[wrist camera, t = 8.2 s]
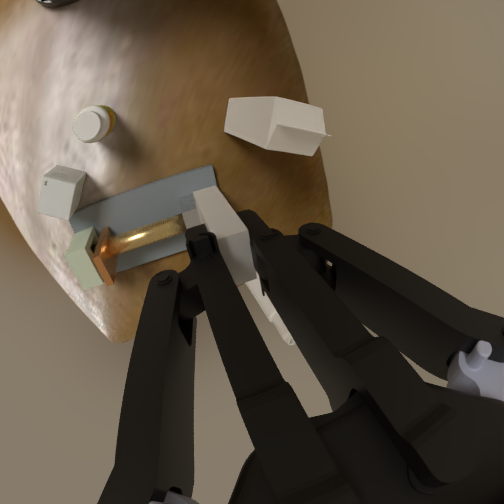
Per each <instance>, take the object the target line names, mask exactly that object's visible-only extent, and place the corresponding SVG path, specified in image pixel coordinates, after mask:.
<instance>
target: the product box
mask: <svg viewBox="0 0 504 504" xmlns="http://www.w3.org/2000/svg"><path fill="white" fill-rule="evenodd" d="M85 175H86V172H84V171H80V170H76V169H72V168H68V167H63V166H59V165H57V166H55V167H54V168H53V169H51V170H50V171H49V172H48V173H46V174H45V175H44V176H43V177H42V183H41V189H40V196H39V204H38V213H41V214H45V215H48V216H52V217H56V218H60V219H64V220H68V221H69V220H70V218H71V217H72V215H73V214H74V212H75V210H76V209H77V207H78V206H79V203H80V198H81V193H82V189H83V184H84V180H85Z"/></svg>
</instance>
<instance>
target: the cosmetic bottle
mask: <svg viewBox="0 0 504 504" xmlns="http://www.w3.org/2000/svg"><path fill="white" fill-rule="evenodd" d="M256 275H257V279H254V280H251V281H248V282H245V284H246V285H247V286H248V288H249V289H250V291H251V293H252V294H253V296H254V297H255V299H256V300H257V302H258V304H259V305H260V307H261V309H262V310H263V312H264V313H265V315H266V316H267V318H268V319H269V321H270V322H271V323H274V325H275V326H276V328H277V330H278V332H279V333H280V335H281V337H282V339H283V340H284V341H286V342H287V343H288V345H294V344H296V343H295V341H294V339H293V338H292V336H291V334H290V333H289V331H288V329H287V328H286V326H285V324H284V323H283V321H282V319H281V318H280V316H279V314H278V313H277V311H276V309H275V308H274V306H273V304H272V303H271V301H270V299H269V298H268V296H267V294H266V293H265V296H263V295H262V290H261V284H260V279H259V275H258V273H257V272H256Z"/></svg>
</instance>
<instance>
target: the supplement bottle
mask: <svg viewBox="0 0 504 504" xmlns="http://www.w3.org/2000/svg"><path fill="white" fill-rule="evenodd" d="M115 124H116V116H115V113H114V111H113V110H112V109H111V108H110V107H107V106H102V105H97V106H89V107H86V108H84V109H83V110H82V111H81V112H80V113H79V114H78V115H77V117H76V119H75V121H74V124H73V132H74V134H75V136H76V137H77V138H78V139H79V140H81V141H83V142H85V143H93V142H97V141H99V140H100V139H102V138H103V137H105V136H107V135H108V134H110V133H111V131H112V130H113V129H114V127H115Z"/></svg>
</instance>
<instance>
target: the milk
mask: <svg viewBox="0 0 504 504" xmlns="http://www.w3.org/2000/svg"><path fill="white" fill-rule="evenodd" d="M224 132H226V133H229V134H231V135H234V136H236V137H238V138H241V139H243V140H246V141H248V142H250V143H253V144H255V145H257V146H259V147H262V148H264V149H267V150H274V151H281V152H288V153H294V154H301V155H307V156H313V155H314V153H315V152H316V150H317V148H318V147H319V145H320V143H321V142H322V140H323V139H324V137H325V135H327V136H331V135H328V134H326V131H325V124H324V116H323V110H322V108H320V107H316V106H312V105H309V104H305V103H301V102H297V101H293V100H289V99H285V98H280V97H276V96H270V97H243V98H229V102H228V108H227V114H226V120H225V127H224ZM331 137H332V136H331Z"/></svg>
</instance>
